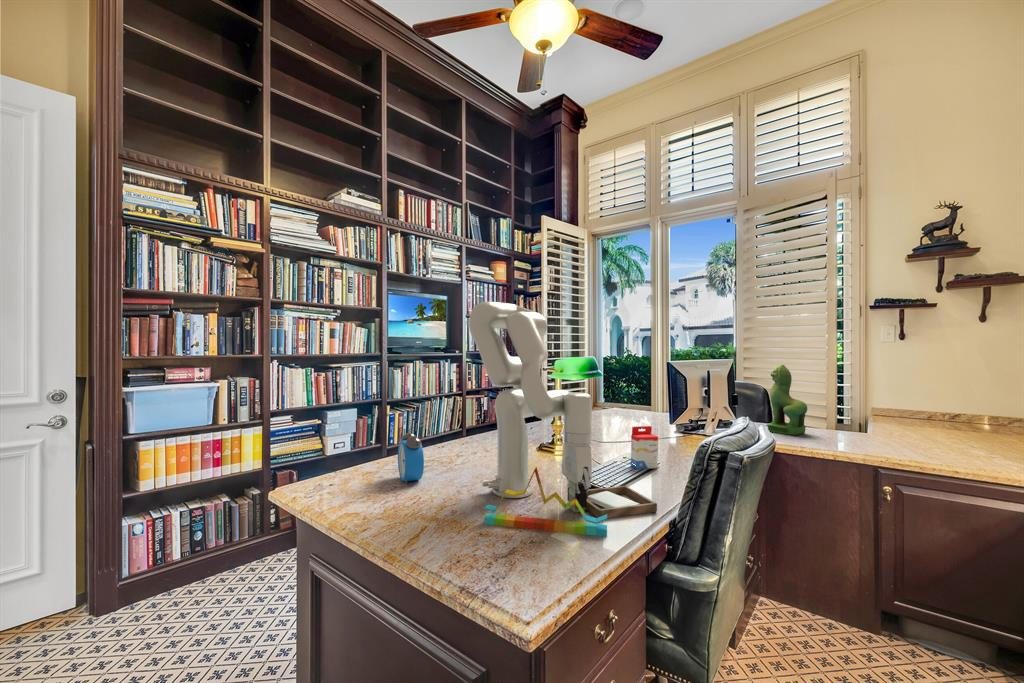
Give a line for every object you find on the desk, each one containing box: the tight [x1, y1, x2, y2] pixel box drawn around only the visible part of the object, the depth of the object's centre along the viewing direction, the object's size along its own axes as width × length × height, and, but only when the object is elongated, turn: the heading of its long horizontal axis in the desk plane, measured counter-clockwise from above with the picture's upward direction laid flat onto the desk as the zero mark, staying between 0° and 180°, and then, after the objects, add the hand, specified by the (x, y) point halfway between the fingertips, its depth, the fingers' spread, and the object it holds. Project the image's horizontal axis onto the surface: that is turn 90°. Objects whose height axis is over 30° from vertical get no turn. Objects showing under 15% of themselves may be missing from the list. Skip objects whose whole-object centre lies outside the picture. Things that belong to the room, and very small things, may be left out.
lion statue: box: [766, 364, 808, 436], centre depth 230 cm, size 14×17×35 cm
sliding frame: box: [568, 479, 658, 519], centre depth 127 cm, size 22×16×8 cm
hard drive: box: [587, 491, 640, 509], centre depth 127 cm, size 2×8×12 cm
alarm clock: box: [397, 432, 425, 485], centre depth 148 cm, size 13×6×15 cm, turn 25°
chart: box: [484, 467, 608, 538], centre depth 112 cm, size 30×3×15 cm, turn 77°
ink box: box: [630, 425, 659, 470], centre depth 166 cm, size 8×5×15 cm, turn 102°
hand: (576, 503), depth 124 cm, fingers closed on sliding frame, 4 cm apart
